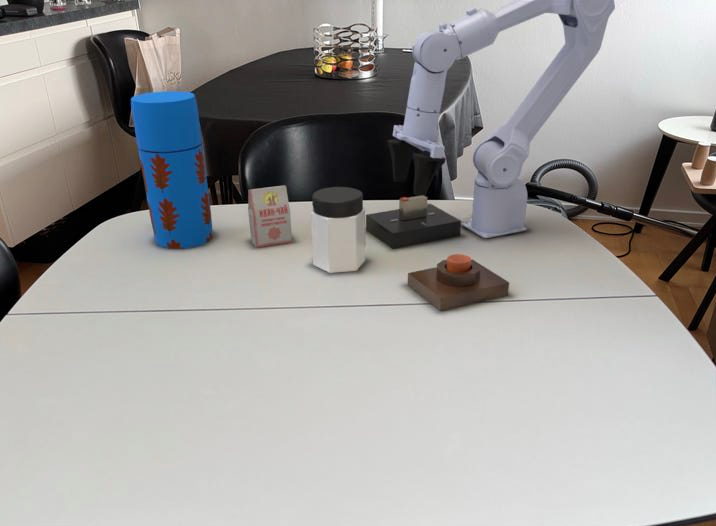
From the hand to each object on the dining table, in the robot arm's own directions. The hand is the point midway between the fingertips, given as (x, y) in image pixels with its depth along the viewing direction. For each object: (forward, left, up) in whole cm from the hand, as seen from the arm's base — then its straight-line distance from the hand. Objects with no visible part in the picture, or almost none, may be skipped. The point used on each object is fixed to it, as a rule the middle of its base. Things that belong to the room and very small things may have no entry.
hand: (409, 187), depth 123 cm
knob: (-1, 0, -6) cm, 6 cm away
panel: (-1, 0, -9) cm, 9 cm away
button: (+5, +25, -5) cm, 26 cm away
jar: (+17, +7, -9) cm, 20 cm away
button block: (+5, +25, -9) cm, 27 cm away
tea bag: (+24, -8, -9) cm, 27 cm away
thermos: (+38, -17, -9) cm, 43 cm away
